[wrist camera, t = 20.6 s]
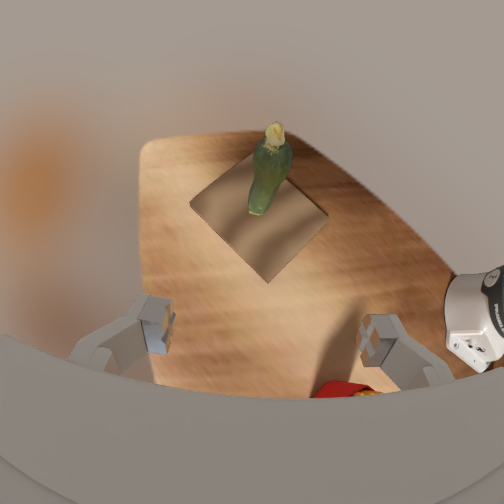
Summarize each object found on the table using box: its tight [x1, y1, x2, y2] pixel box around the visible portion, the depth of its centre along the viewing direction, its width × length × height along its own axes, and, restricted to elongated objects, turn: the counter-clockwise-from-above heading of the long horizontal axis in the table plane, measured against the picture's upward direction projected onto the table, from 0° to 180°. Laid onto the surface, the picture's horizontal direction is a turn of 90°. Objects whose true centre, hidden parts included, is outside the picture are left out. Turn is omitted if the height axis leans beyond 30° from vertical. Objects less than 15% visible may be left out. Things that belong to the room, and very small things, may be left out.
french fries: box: [314, 380, 383, 398], centre depth 29 cm, size 9×4×13 cm, turn 141°
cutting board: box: [189, 152, 330, 283], centre depth 42 cm, size 17×14×2 cm
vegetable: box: [248, 121, 293, 216], centre depth 32 cm, size 4×4×20 cm
